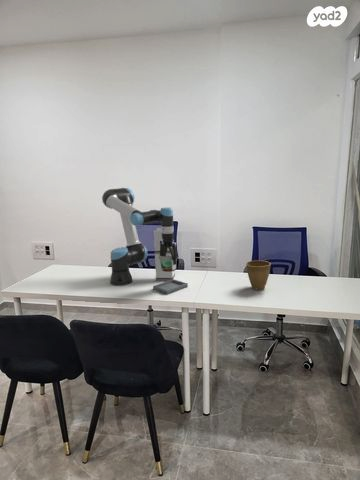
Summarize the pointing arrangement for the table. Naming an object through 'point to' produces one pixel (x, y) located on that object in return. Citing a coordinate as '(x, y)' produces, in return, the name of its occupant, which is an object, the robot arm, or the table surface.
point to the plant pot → (258, 273)
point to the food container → (166, 263)
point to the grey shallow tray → (170, 286)
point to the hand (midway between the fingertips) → (169, 268)
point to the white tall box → (159, 273)
